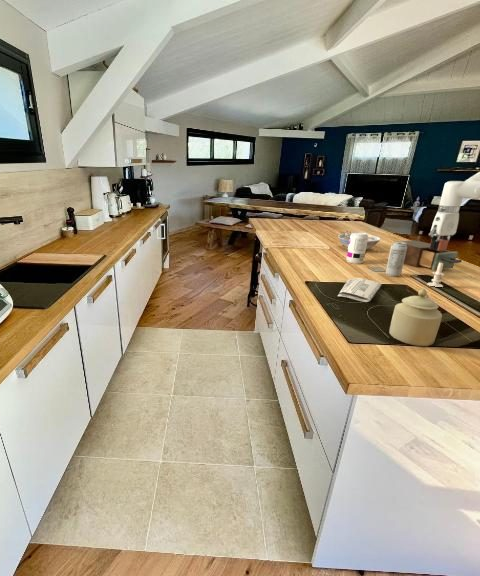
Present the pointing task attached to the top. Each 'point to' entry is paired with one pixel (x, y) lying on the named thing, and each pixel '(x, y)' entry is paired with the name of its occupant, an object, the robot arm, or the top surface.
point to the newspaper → (360, 289)
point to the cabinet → (414, 252)
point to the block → (442, 245)
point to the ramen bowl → (370, 243)
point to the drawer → (437, 258)
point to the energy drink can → (396, 259)
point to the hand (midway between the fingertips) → (437, 248)
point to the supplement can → (357, 247)
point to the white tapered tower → (437, 276)
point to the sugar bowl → (416, 320)
